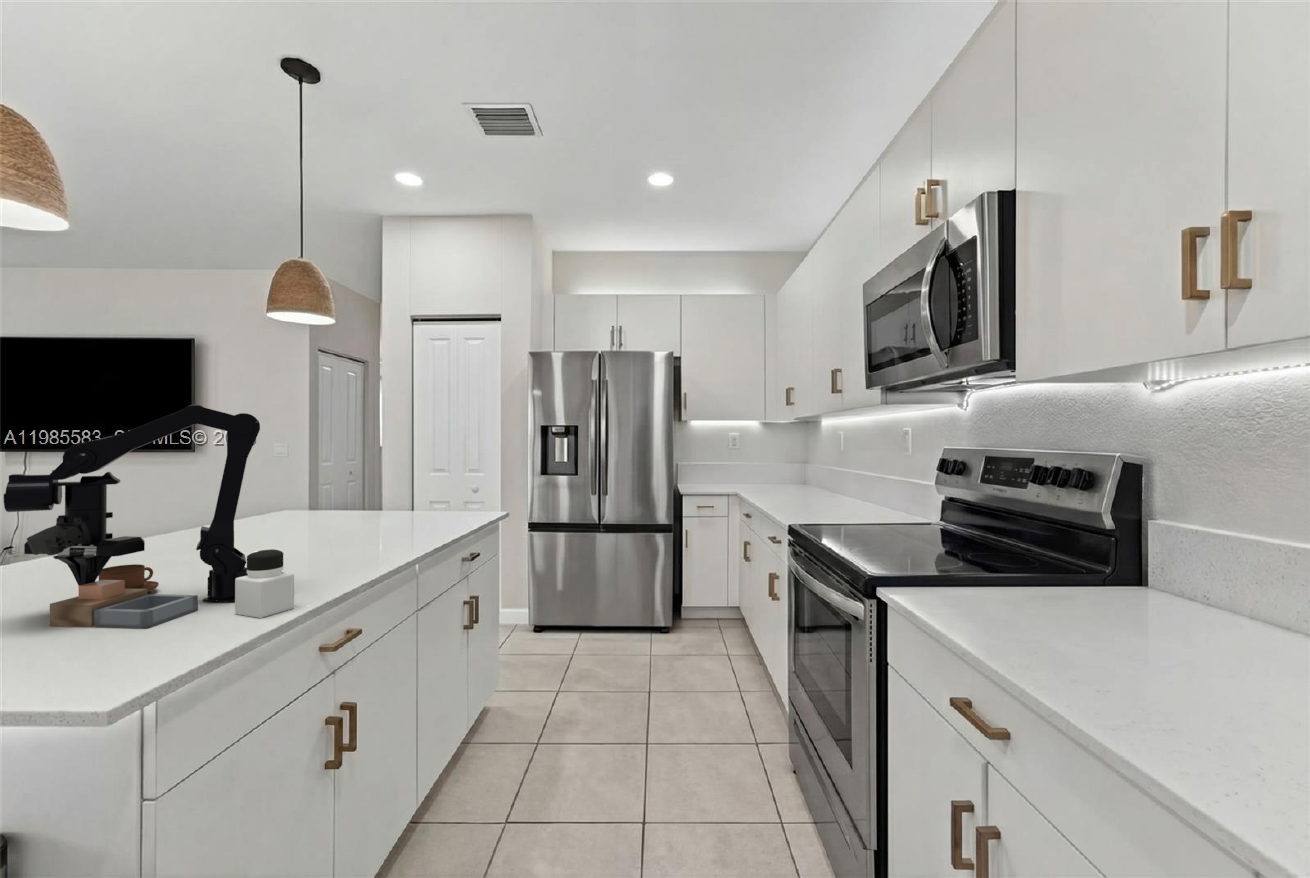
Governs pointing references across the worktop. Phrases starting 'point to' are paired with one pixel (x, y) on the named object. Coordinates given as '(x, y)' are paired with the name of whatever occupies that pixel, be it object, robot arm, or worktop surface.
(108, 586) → the tile
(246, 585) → the medicine bottle
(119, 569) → the cup and saucer
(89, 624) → the tan wooden board
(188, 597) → the box
